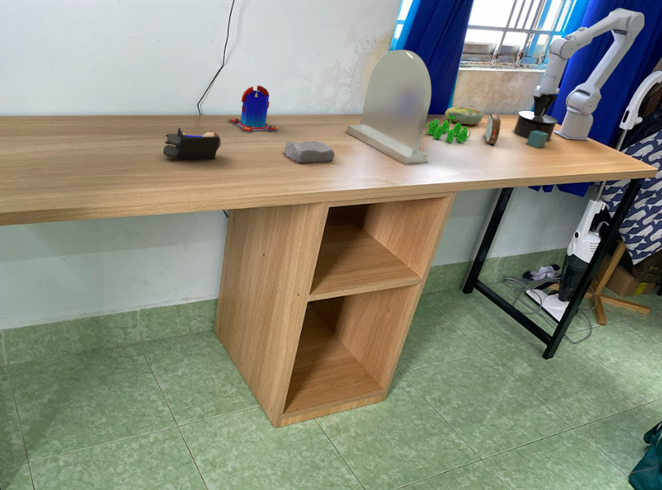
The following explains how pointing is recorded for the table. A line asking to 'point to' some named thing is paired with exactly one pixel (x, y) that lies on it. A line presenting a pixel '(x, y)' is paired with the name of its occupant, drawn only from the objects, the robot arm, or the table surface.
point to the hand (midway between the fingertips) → (538, 115)
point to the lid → (536, 119)
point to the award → (396, 107)
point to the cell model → (464, 115)
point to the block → (537, 139)
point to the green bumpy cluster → (447, 130)
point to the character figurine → (192, 146)
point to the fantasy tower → (254, 110)
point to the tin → (492, 128)
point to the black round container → (532, 128)
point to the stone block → (309, 152)
